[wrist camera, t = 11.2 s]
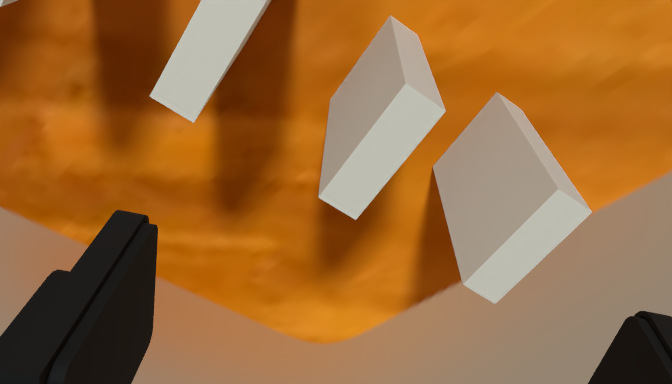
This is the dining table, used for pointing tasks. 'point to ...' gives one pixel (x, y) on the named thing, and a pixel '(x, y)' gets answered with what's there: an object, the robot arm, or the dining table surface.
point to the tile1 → (504, 199)
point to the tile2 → (377, 118)
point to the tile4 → (6, 2)
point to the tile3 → (206, 53)
